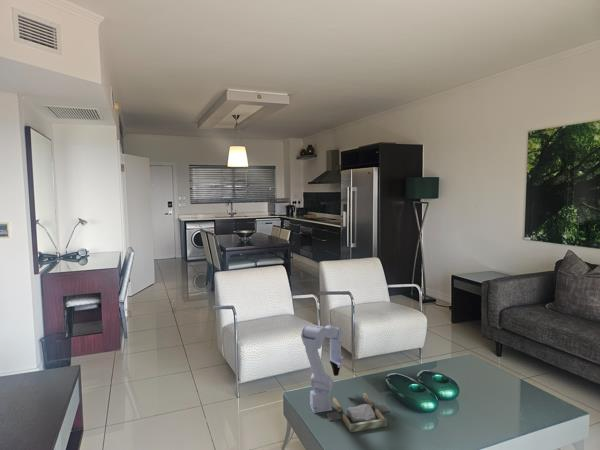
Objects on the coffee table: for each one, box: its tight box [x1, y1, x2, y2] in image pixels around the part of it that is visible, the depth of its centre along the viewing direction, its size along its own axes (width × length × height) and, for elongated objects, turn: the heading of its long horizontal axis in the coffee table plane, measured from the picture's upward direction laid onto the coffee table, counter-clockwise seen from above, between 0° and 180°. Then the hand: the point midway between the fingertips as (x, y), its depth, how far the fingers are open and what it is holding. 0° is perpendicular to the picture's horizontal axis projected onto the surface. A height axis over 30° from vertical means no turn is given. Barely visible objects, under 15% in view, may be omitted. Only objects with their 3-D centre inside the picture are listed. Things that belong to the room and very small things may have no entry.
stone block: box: [346, 403, 377, 423], centre depth 183 cm, size 12×5×10 cm
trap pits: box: [325, 404, 391, 422], centre depth 187 cm, size 30×6×1 cm, turn 103°
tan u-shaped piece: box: [332, 392, 388, 433], centre depth 186 cm, size 17×25×3 cm
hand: (336, 375), depth 206 cm, fingers closed
